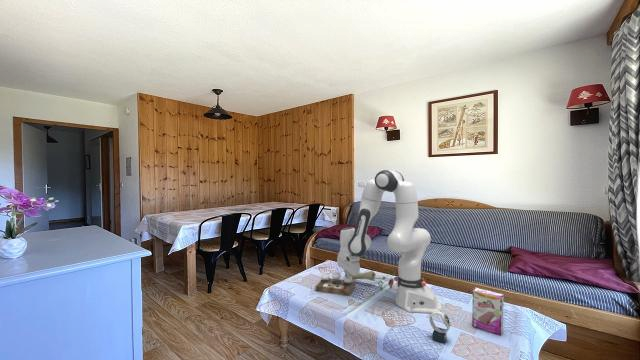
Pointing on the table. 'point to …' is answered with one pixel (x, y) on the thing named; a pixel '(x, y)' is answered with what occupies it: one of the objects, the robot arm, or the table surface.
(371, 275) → the flower vase
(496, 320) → the candy bar box
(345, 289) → the button board
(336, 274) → the middle button
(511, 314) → the table surface
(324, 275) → the outer button
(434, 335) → the watch
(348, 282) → the inner button
